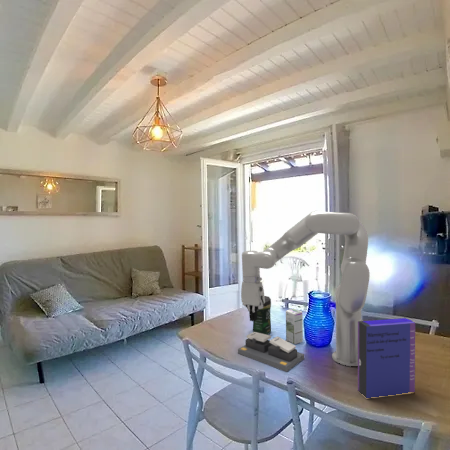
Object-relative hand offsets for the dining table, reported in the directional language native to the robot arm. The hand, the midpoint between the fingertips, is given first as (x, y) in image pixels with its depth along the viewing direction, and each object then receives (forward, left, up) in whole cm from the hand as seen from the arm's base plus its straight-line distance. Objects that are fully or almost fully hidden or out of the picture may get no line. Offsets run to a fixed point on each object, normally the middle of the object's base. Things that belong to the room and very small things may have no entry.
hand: (253, 320), depth 136 cm
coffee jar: (+8, -18, -13) cm, 24 cm away
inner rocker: (-15, 0, -7) cm, 16 cm away
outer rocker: (-3, 0, -7) cm, 7 cm away
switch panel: (-9, 0, -13) cm, 16 cm away
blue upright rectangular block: (-53, -3, -14) cm, 55 cm away
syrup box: (-9, -20, -13) cm, 25 cm away
